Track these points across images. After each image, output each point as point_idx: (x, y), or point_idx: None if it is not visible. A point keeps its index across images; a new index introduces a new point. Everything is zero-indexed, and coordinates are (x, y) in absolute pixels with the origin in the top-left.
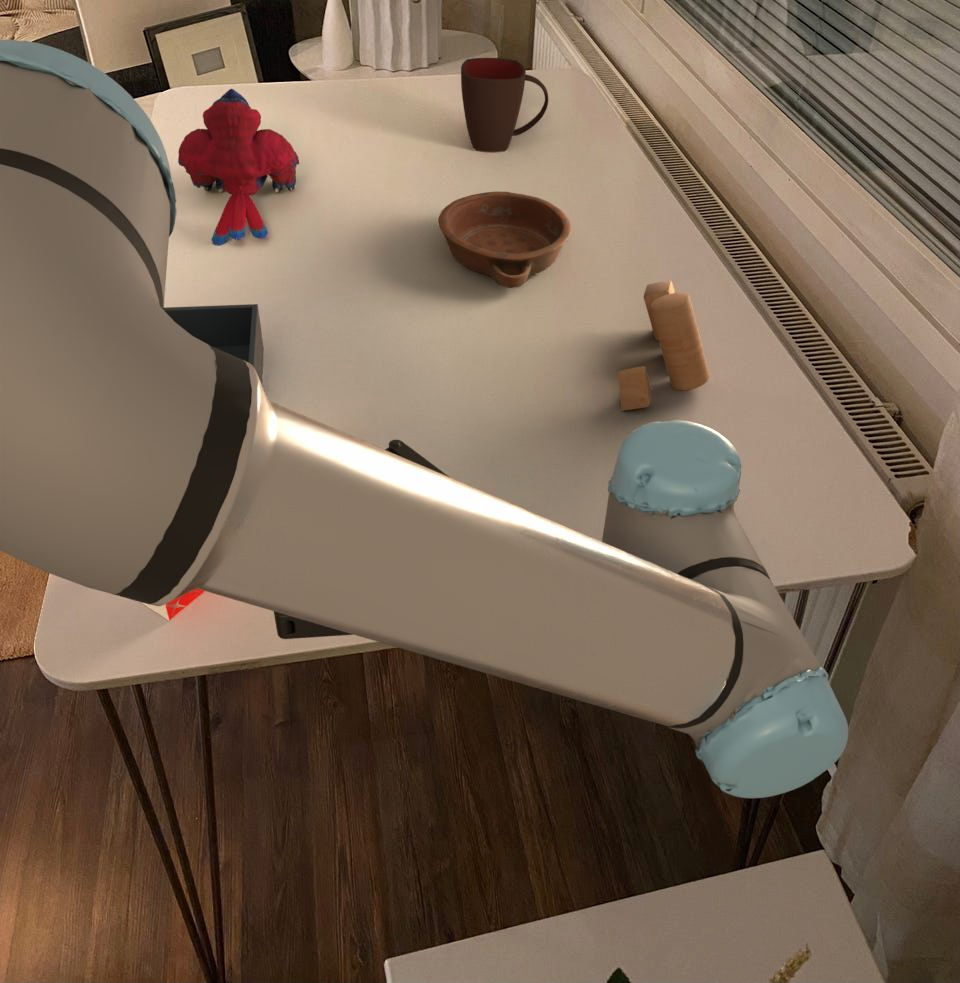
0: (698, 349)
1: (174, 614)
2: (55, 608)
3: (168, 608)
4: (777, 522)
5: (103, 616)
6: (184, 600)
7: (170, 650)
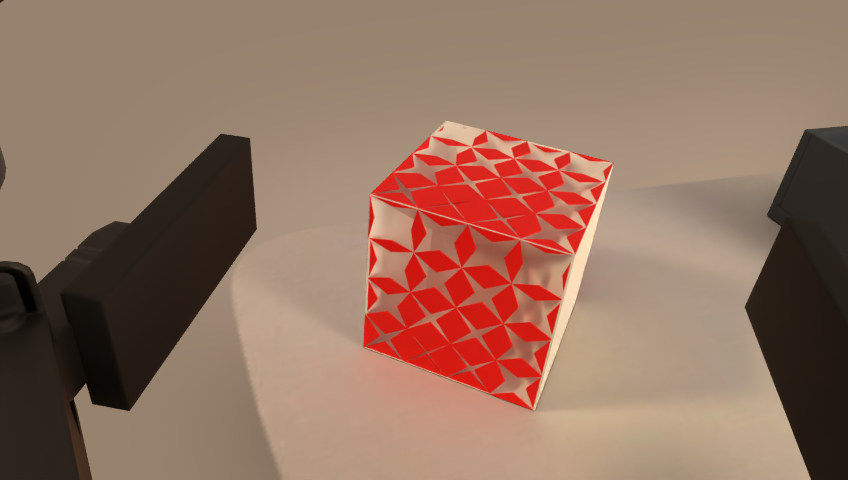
0: None
1: (376, 347)
2: (363, 225)
3: (369, 325)
4: None
5: (358, 271)
6: (403, 346)
7: (294, 366)
